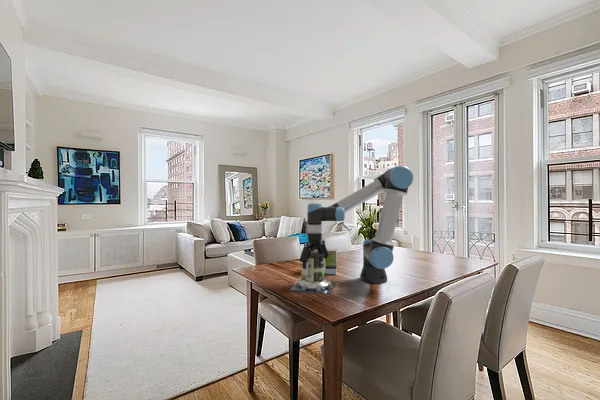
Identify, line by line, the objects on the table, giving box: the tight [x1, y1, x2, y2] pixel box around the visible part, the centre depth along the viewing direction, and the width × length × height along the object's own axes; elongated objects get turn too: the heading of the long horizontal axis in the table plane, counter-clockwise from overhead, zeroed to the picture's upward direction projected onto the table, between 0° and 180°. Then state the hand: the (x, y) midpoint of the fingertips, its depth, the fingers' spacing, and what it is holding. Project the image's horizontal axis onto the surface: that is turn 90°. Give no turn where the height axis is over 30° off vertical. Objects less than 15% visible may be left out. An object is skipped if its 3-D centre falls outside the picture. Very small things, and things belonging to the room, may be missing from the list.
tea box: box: [312, 247, 338, 275], centre depth 186 cm, size 15×10×15 cm
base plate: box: [289, 280, 338, 295], centre depth 157 cm, size 21×21×1 cm
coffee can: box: [305, 253, 325, 283], centre depth 157 cm, size 10×10×14 cm
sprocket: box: [294, 265, 335, 291], centre depth 157 cm, size 21×21×9 cm
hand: (314, 272), depth 157 cm, fingers open, 13 cm apart
